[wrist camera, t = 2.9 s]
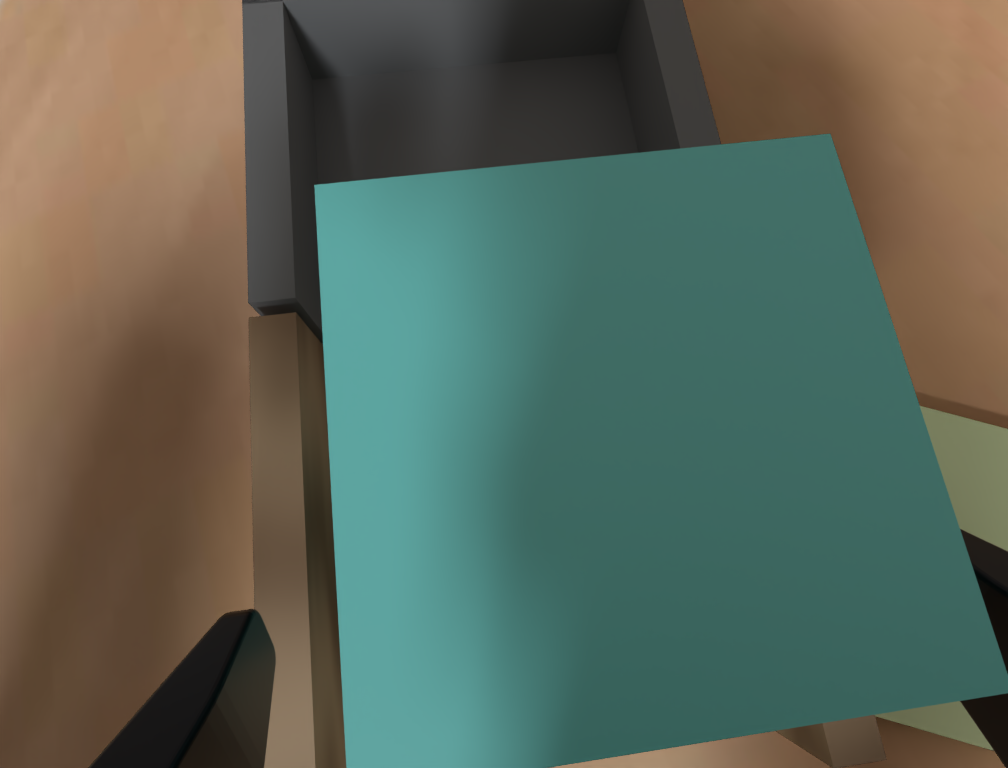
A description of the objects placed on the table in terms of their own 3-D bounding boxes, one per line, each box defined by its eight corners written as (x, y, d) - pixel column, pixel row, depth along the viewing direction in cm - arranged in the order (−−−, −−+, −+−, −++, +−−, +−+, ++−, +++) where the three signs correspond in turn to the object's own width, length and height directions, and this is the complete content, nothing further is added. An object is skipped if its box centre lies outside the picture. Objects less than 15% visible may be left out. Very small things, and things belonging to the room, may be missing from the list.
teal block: (629, 584, 16) (1014, 692, 4) (452, 610, 16) (346, 799, 4) (598, 412, 18) (830, 133, 6) (434, 433, 17) (314, 185, 5)
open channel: (802, 714, 16) (886, 759, 13) (310, 793, 15) (259, 864, 12) (706, 311, 19) (752, 261, 16) (292, 359, 18) (248, 317, 15)
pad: (1130, 789, 16) (1151, 796, 15) (801, 693, 16) (811, 697, 16) (1126, 467, 18) (1143, 465, 18) (839, 390, 19) (848, 386, 18)
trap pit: (703, 299, 19) (749, 247, 16) (292, 347, 18) (247, 303, 15) (639, 32, 22) (666, -60, 19) (280, 63, 21) (241, -27, 18)
